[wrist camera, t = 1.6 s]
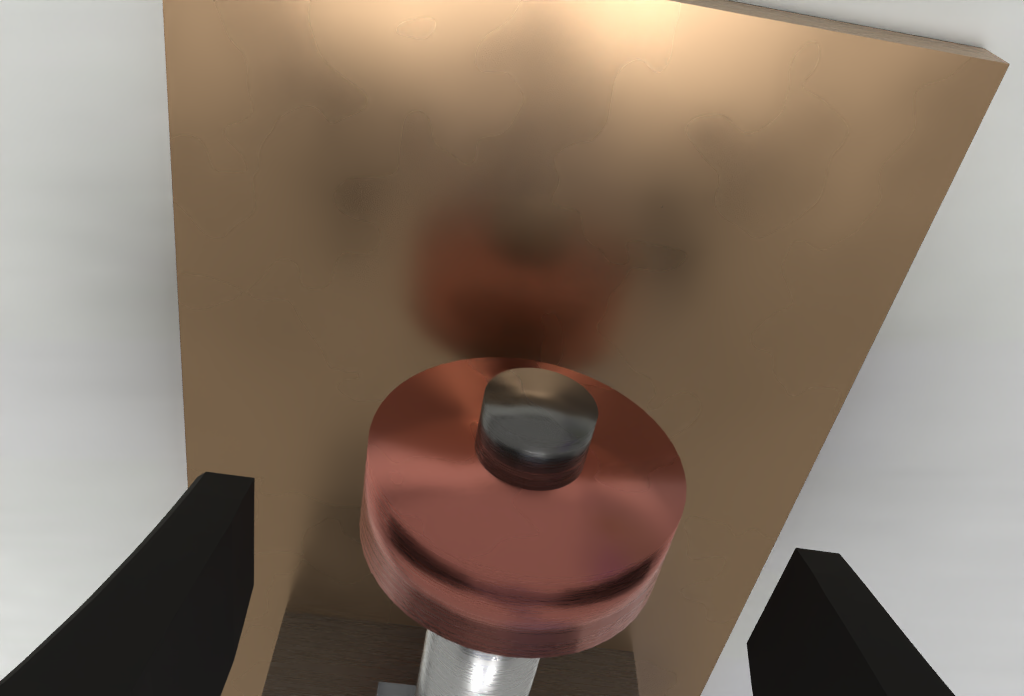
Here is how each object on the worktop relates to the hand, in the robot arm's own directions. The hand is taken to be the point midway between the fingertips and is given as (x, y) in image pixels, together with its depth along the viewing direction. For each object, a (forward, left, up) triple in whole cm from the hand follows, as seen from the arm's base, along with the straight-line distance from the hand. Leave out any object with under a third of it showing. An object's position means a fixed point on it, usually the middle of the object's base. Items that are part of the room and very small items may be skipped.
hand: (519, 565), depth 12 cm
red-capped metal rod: (-5, 0, -4) cm, 6 cm away
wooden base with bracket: (-3, 0, -6) cm, 6 cm away
